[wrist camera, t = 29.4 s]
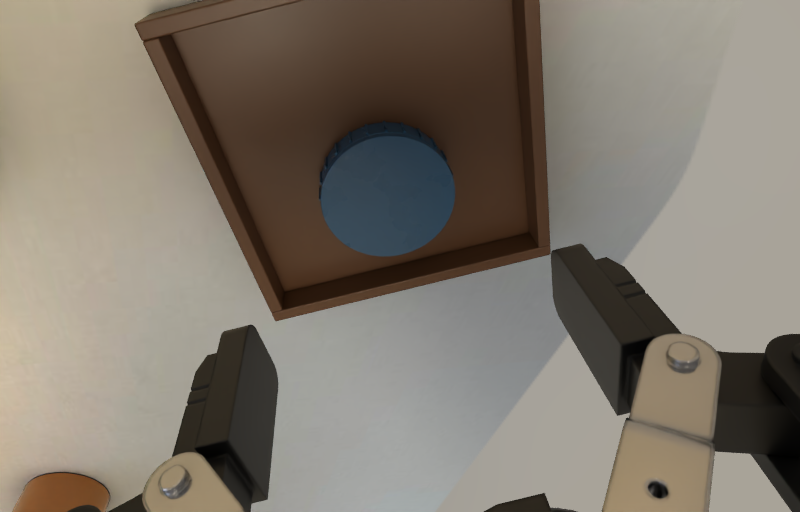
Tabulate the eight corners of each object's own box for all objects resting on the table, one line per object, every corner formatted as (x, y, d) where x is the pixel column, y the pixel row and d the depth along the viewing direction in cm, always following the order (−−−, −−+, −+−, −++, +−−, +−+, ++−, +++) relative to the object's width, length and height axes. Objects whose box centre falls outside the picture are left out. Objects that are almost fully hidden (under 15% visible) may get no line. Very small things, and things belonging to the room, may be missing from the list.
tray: (537, 233, 27) (551, 254, 25) (278, 297, 27) (275, 321, 26) (518, -80, 19) (536, -80, 17) (149, 14, 19) (133, 23, 18)
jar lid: (305, 133, 22) (303, 148, 21) (443, 108, 22) (451, 122, 21) (334, 248, 25) (335, 268, 24) (453, 226, 26) (461, 245, 24)
